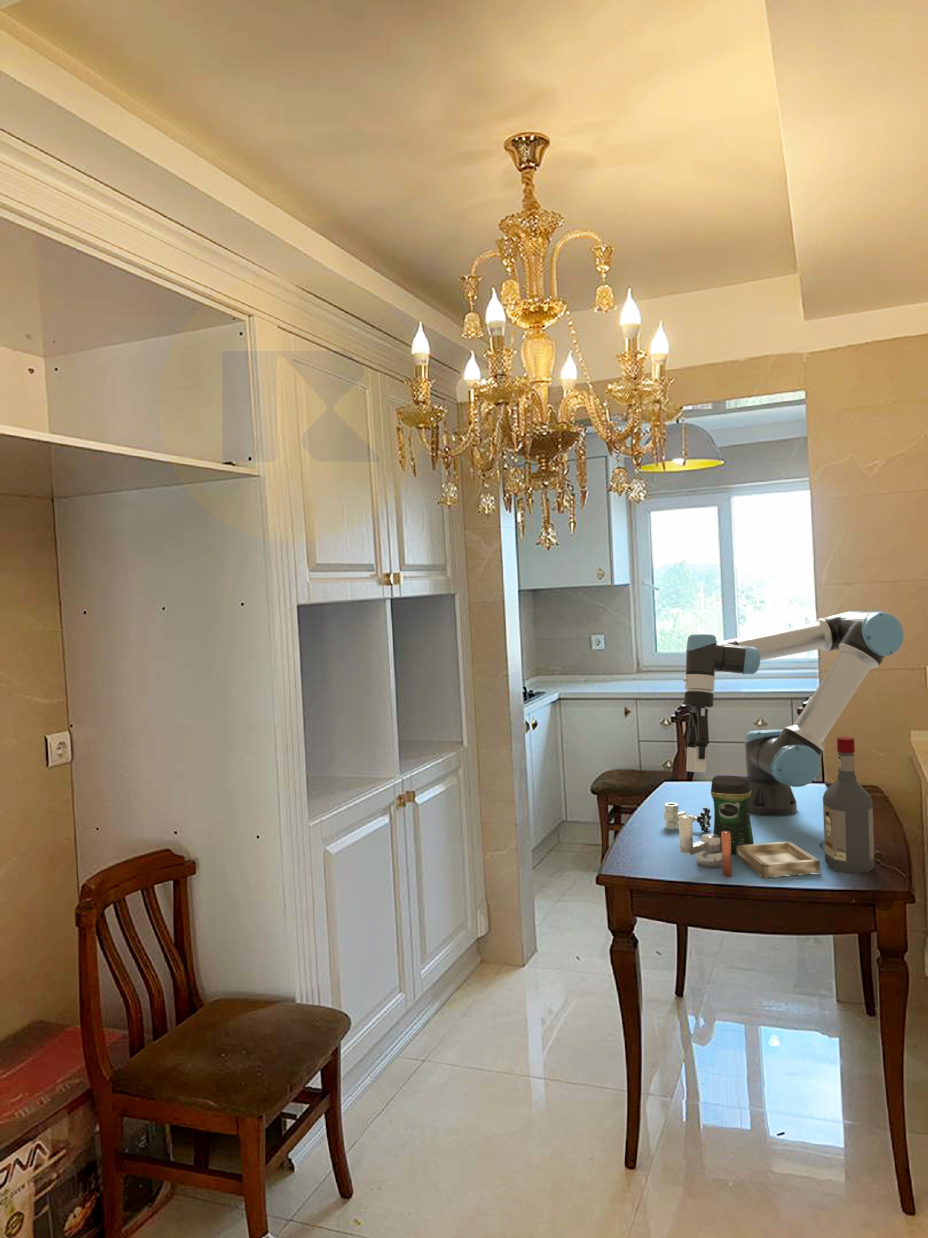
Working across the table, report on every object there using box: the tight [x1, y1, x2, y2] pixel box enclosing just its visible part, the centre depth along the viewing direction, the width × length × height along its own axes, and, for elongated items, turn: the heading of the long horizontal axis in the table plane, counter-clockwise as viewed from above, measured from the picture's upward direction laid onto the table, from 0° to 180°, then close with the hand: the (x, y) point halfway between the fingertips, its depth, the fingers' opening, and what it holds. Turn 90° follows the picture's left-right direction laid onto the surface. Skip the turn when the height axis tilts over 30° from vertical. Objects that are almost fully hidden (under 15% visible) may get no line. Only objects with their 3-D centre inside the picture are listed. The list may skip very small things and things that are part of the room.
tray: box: [736, 840, 822, 879], centre depth 212 cm, size 13×15×3 cm
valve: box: [663, 802, 712, 833], centre depth 245 cm, size 7×7×12 cm
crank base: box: [695, 831, 733, 878], centre depth 212 cm, size 7×14×10 cm, turn 5°
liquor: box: [822, 736, 875, 875], centre depth 207 cm, size 9×9×30 cm
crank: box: [678, 815, 721, 856], centre depth 212 cm, size 13×4×10 cm, turn 127°
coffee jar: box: [710, 774, 755, 854], centre depth 225 cm, size 10×8×19 cm
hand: (695, 772), depth 238 cm, fingers open, 13 cm apart
